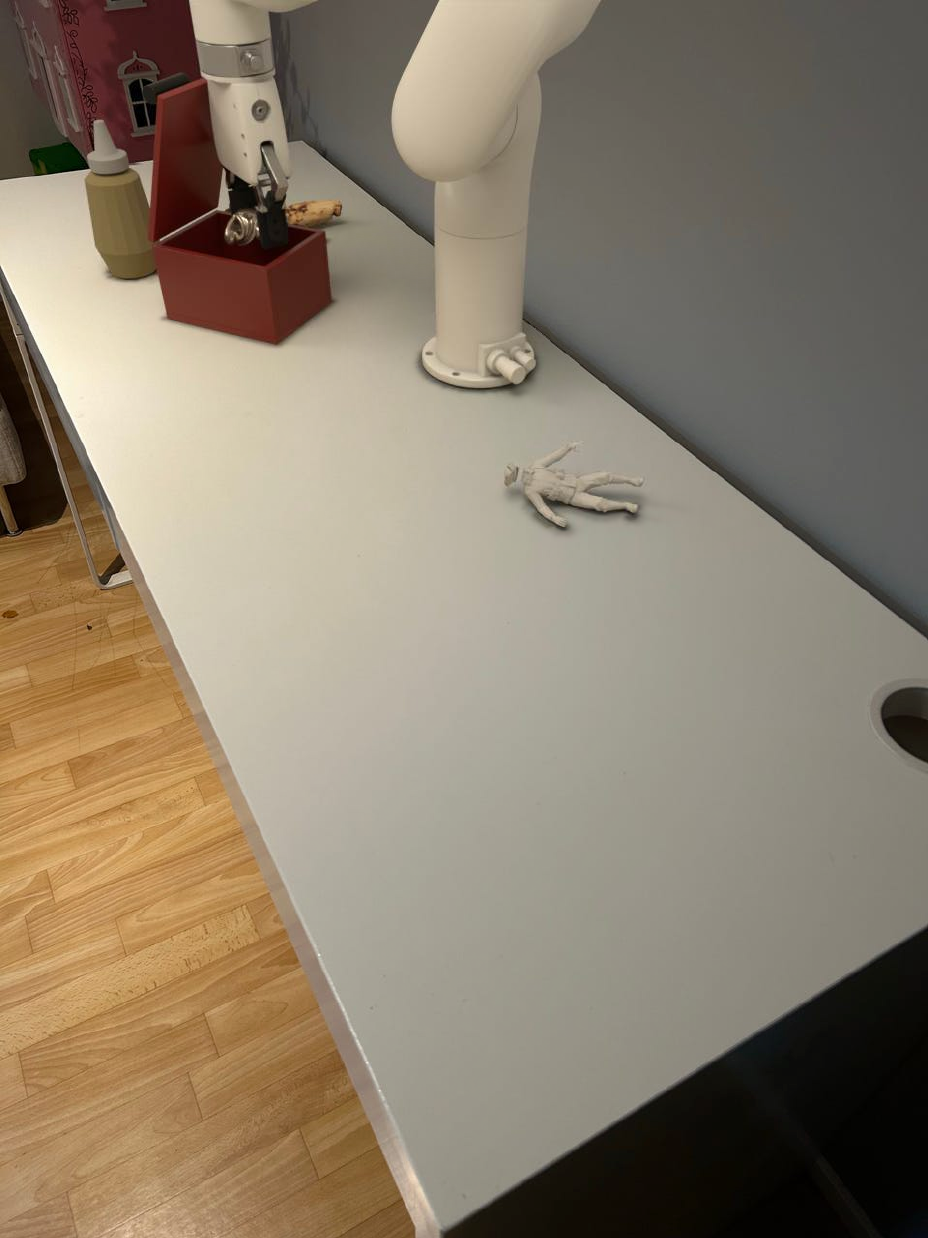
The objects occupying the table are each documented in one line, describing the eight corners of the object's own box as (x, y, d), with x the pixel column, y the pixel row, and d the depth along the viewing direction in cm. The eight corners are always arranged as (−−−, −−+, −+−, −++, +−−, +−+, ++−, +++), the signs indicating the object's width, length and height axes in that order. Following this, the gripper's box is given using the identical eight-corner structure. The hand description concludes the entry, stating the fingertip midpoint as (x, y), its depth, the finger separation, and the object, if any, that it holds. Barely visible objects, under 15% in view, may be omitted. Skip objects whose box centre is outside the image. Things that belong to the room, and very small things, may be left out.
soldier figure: (631, 543, 84) (506, 509, 81) (611, 546, 88) (491, 514, 86) (650, 459, 84) (526, 422, 81) (628, 467, 89) (510, 432, 86)
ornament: (251, 258, 104) (246, 225, 101) (214, 241, 107) (209, 209, 105) (307, 238, 108) (303, 206, 106) (270, 223, 111) (266, 191, 109)
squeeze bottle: (174, 259, 126) (143, 112, 113) (153, 285, 120) (119, 132, 107) (115, 256, 126) (79, 109, 114) (92, 281, 120) (51, 130, 108)
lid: (235, 70, 103) (197, 48, 103) (163, 99, 94) (122, 74, 95) (218, 207, 115) (184, 187, 115) (153, 243, 107) (116, 221, 107)
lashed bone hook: (231, 260, 127) (357, 237, 132) (225, 225, 123) (354, 203, 128) (215, 233, 132) (336, 212, 137) (209, 199, 129) (333, 179, 134)
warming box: (332, 301, 117) (325, 230, 111) (276, 344, 108) (266, 270, 102) (228, 278, 121) (216, 209, 115) (167, 318, 113) (151, 245, 107)
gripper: (308, 71, 91) (325, 253, 104) (235, 36, 102) (258, 205, 114) (237, 82, 88) (263, 268, 100) (169, 44, 99) (200, 217, 111)
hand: (260, 233), depth 107 cm, fingers closed on ornament, 6 cm apart
